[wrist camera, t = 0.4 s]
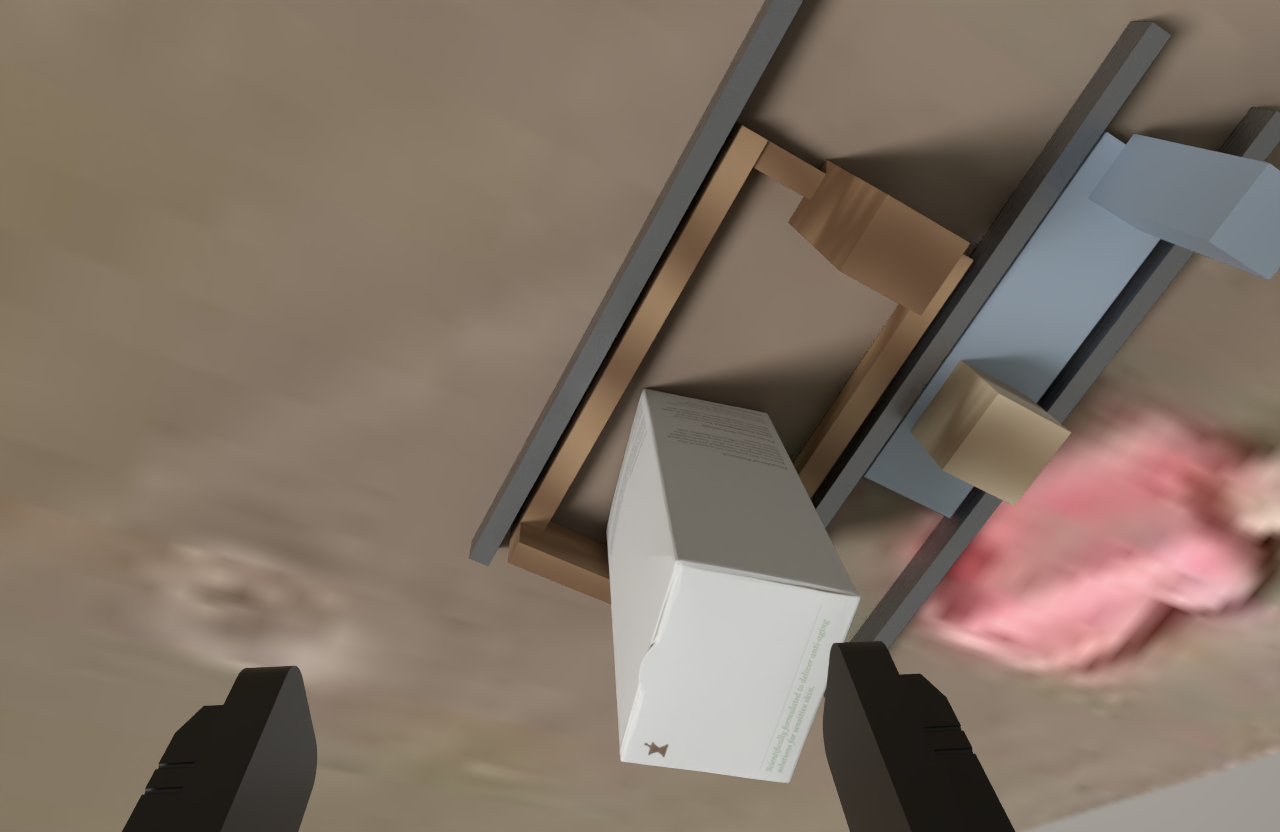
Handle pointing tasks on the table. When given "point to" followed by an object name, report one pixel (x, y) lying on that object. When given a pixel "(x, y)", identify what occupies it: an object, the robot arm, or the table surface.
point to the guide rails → (954, 316)
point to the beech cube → (988, 433)
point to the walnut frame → (826, 217)
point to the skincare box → (719, 593)
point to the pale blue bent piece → (1092, 275)
